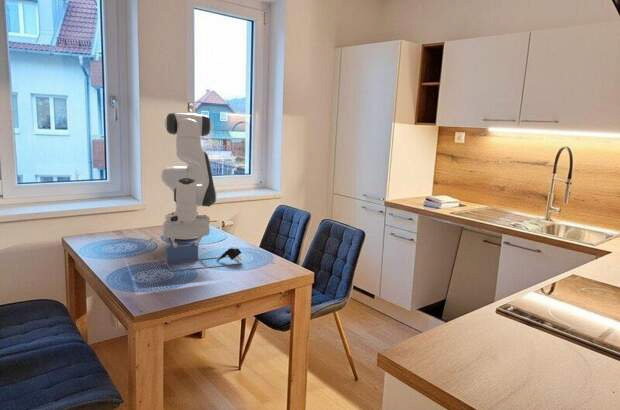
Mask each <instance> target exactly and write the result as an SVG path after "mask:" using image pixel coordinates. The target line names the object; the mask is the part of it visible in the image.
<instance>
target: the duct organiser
mask: <svg viewBox="0 0 620 410" xmlns="http://www.w3.org/2000/svg"><path fill="white" fill-rule="evenodd" d="M177 246H178V247H176V248H174V247H173V243H169V244H168V246H166V261H164V264H165V266H166V267H167V269H168V270H169V272H179V271H180V272H181V271H190V270H201V269H208V268H219V267H228V266H229V267H230V266H238V265H243V264H242V262H238V261H237V260H236V258H234V259H233V260H235V262H237V263H229V264H221V265H220V264H219V265H210V266H208V265H207V264H206V262H204V260H212V259H214V260H215V259H219V258H220V257H221V256H217V257H216V256H215V257H205V258H199V246H195V241H190V244H185V245H177ZM224 258H229V256H228V255H227V256H225V257H224ZM224 258H223V259H224ZM190 261H192V262H193V261H200V263H201V264H202V265H203V266H201V267H193V268H191V267H190V268H181V269H172V268H171V267H170V265H169V264H171V263H182V262H183V263H184V262H190Z"/></svg>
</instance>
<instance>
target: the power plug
mask: <svg viewBox="0 0 620 410" xmlns="http://www.w3.org/2000/svg"><path fill="white" fill-rule="evenodd" d="M241 253H242V251H241V250H240V248H238V247H233V246H232V247H230V248H228V249H227V250H225V251H224V252H223V253H222V254H221V256H219V257H220V258H217V260H216V262H219V261H220V260H222V259H224V257H225V256H229V257H228V258H229V259H230V260H231V261H233V260H234V258H236V260H237V261H238V262H240V261H242V260H243V259H242V258H241V256H240V255H241ZM225 258H226V257H225ZM236 260H235V261H236ZM237 261H236V262H237ZM238 262H237V263H238Z"/></svg>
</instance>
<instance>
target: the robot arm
mask: <svg viewBox="0 0 620 410" xmlns="http://www.w3.org/2000/svg"><path fill="white" fill-rule="evenodd" d="M164 126H165V129H166V132H167V133H169V134H170V135H174V136H175V135H176V137H175V139H176V141H175V143H176V144H175V146H176V147H175V148H176V157H177V158H178V160H180V161H181V162H184V163H185V164H187V166H186V165H185V166H184V165H183V166H182V165H177V166H176V165H173V166H166V167H165V168H163V170H162V172H161V175H160V176H161V181H162V182H163V184H164V185H165V186H167V187H168V189H170V190H171V192H172V194H173V201H174V202H175V211H173V212H170V213H167V214H165V216H164V218H165V220H164V222H163V224H162V229H161V230H162V231H161V236H162V238H164V239H170V240H171V242H172V244H173V247H174V248H176V247H178V246H179V245H178V243H177V242H175V240H194V239H195V241H194V242H195V246H198V247H199V246H200V242H201V240H202V239H203V237H205V236H206V237H207V236H209V235H210V230H211V229H210V221H211V218H210V217H209V216H208V215H206V214H203V215H200V214H199V213H198V206H202V207H211V206H212V205H214V204H215V203H216V201H217V191H216V188H215V184H214V179H213V174H212V167H211V163H210V160H209V159H210V158H209V156H208V155H209V154H208V153H207V152H206V151H204V149H203V148H202V144H201V137H206V136H208V135H209V134H210V133H211V130H212V127H213V126H212V120H211V117H209V116H208V115H205V114H199V113H191V112H188V113H186V112H184V113H183V112H180V113H179V112H178V113H176V112H170V113H168V114H167V115H166V118H165V120H164ZM196 239H197V240H196Z"/></svg>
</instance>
